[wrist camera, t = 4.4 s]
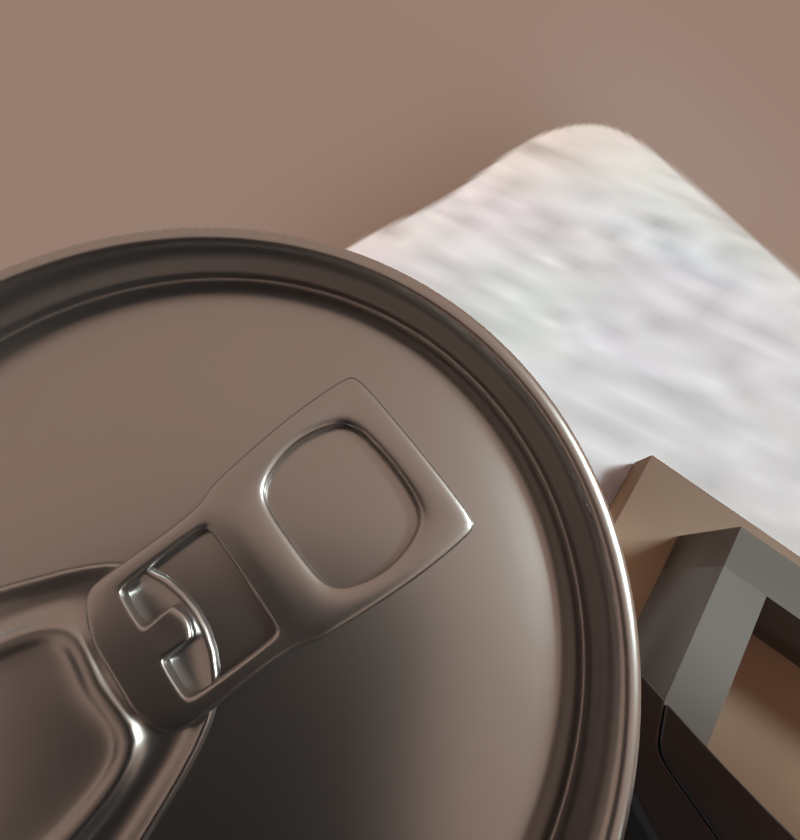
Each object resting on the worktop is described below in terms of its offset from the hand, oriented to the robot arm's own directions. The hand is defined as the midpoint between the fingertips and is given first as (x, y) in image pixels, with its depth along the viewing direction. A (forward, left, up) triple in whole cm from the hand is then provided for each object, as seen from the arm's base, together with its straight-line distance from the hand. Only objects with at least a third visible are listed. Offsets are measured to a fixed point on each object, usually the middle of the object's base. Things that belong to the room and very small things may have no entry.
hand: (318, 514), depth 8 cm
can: (-1, -1, -7) cm, 7 cm away
